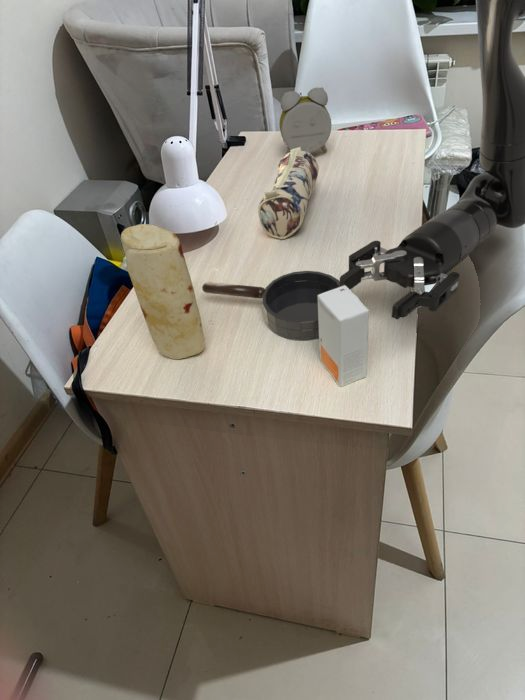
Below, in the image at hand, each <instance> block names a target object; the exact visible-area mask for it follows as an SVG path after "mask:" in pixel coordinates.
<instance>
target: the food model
mask: <svg viewBox="0 0 525 700" xmlns="http://www.w3.org/2000/svg"><path fill="white" fill-rule="evenodd" d="M120 240H121V245H122V249H123V253H124V256H125V262H126V263H125V264H126V270H127V272H128V275H129V278H130V280H131V283H132V286H133V289H134V293H135V295H136V298H137V301H138V304H139V307H140V310H141V312H142V315H143V317H144V320H145V322H146V326H147V328H148V331H149V334H150V336H151V339H152V342H153V343H154V345H155V347H156V349H157V350H158V351H159V353H161V355H163V356H164V357H166V358H169V359H172V360H182V359H187V358H189V357H193V356H196V355H198V354H200V353H202V352H203V350H204V349H205V348H206V341H205V335H204V331H203V323H202V317H201V314H200V309H199V305H198V301H197V298H196V294H195V293H196V292H195V289H194V285H193V281H192V278H191V277H192V276H191V275H190V271H189V268H188V264H187V262H186V258H185V255H184V252H183V246H182V243H181V240H180V239H179V237H178V236H177V235H176V234H175V233H173V232H172V231H170V230H168V229H166V228H163V227H160V226H159V225H155V224H149V223H141V224H136V225H131V226H129V227H126V228H124V229H123V231H122V232H121V234H120Z"/></svg>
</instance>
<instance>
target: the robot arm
mask: <svg viewBox="0 0 525 700" xmlns="http://www.w3.org/2000/svg"><path fill="white" fill-rule="evenodd" d="M475 6H476V8H475V9H476V22H477V35H478V36H477V40H478V54H479V55H478V56H479V68H480V79H481V80H480V81H481V91H482V92H481V93H482V94H481V95H482V96H481V97H482V114H481V115H482V117H481V119H482V120H481V129H480V130H481V131H480V142H479V156H478V157H479V158H478V160H479V165H480V168H482V171H484V173H483V172H482V173H480V174H478V175H476V176H474V177H473V178H472V179H471V181H470V182H469V184H468V186H467V187H466V188H465V191H464V192H463V194H462V195H461V197H459V199H458V200H457V202H456V203H454V204H453V205H452V206H450V207H449V208H447V209H446V210H444V211H443V212H441V213H438V214H436V215H435V216H433V217H432V218H431V219H429V220H428V221H426V222H424V223H423V224H421V225H420V226H419V227H418V228H416V229H415V230H413V231H411V232H410V233H409V234H408V235H406V236H405V237H404V238H403V239H402V240H401V242H400V243H399V245H398V246H396V247H393V248H390V249H386V248H384V247H381V245H382V243H381V241H380V240H373V241H371V242H370V243H368V244H366V245H364V246H363V247H361V248H359V249H358V250H356V251H355V252H353V253H351V254H350V255H348V270H347V271H346V272H344V273H343V274H342V275H340V277H339V281H340V287H341V286H344V285H345V286H347V287H348V288H349V290H350V291H351V290H352V289H353V288H355V287H356V286H357V285H359V284H360V283H362V281H366V280H373V281H374V282H380V281H388V282H389V283H390V282H391V283H394V284H397V285H398V286H400V287H402V288H403V289H406V288H409V289H411V290H410V291H408V292H407V293H406V294H405V295H404V296H402V297H401V298H400V299H398V300H397V301H395V303H394V304H393V305H392V307H391V318H392V319H394V320H397V321H398V320H400V319H402V318H403V319H404V318H406V317H408V316H409V315H410V314H411V313H413V312H414V311H415V310H416V309H421V308H422V307H425V308H427V310H428V311H430V312H437V311H438V310H439V309H441V307H442V306H443V305H444V304H445V303H446V302H447V301H448V300H449V299H450V298H451V297H453V295H455V294H456V292H457V291H458V286H459V280H460V273H459V272H457V271H452V270H453V269H454V268H455V267H457V266H458V265H460V263H461V262H463V261H464V260H466V258H468V256H469V255H470V254H471V253H472V252H473V251H474V250H475V249H476V248H478V247H479V246H480V245H482V244H483V243H484V242H485V241H487V239H489V238H490V237H491V236H492V235H493V233H494V232H495V230H496V228H497V225H498V226H501V227H505V228H508V229H516V228H520V227H522V226H524V225H525V75H524V72H523V71H522V69H521V68H520V65H519V64H518V61H517V60H516V57H515V54H514V51H513V44H512V41H513V40H512V39H513V29H514V23H515V21H516V20H518V19H519V20H520V19H521V18H524V17H525V0H475ZM382 264H383V271H381V272H380V269H381V265H382ZM369 268H371V270H368V271H366V270H365V269H369ZM450 271H452V272H450ZM449 272H450V273H449ZM448 273H449V274H448ZM437 283H438V284H437ZM435 284H437V285H436V286H435V287H434V288H433V289H432V290H431V291H426V289H425V288H426V286H429V285H430V286H431V285H435Z"/></svg>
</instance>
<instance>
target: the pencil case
mask: <svg viewBox="0 0 525 700" xmlns="http://www.w3.org/2000/svg"><path fill="white" fill-rule="evenodd" d="M290 151H291V152H290V153H288V154H286V153H285V154H286V155H283V156H282V157H281V158H280V160H279V162H278V165H277V174H276V175H277V176H276V177H275V180H274V185H273V186H272V188H271V189H270V190H268V191H264V192H263V193H264V196H263V197H262V199H261V200H260V202H259V204H258V207H257V214H258V219H259V222H260V225H261V227H262V229H263V230H264V232H265V233H266V234H267V235H269V236H270V237H272V238H274V239H279V240H280V239H281V240H285V239H288V238H291V236H293V235H294V234H296V233H297V232H298V231H299V230H300V229H301V227H302V226H303V223H304V220H305V216H306V212H307V209H308V204H309V201H310V199H311V196H312V193H313V190H314V187H315V186H316V183H317V179H318V176H319V169H320V168H319V164H318V161H317V160H316V158H315V156H313V155H312V153H311V154H309V153H308V152H305V151H301V147H298V148H294V149H292V150H290Z"/></svg>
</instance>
